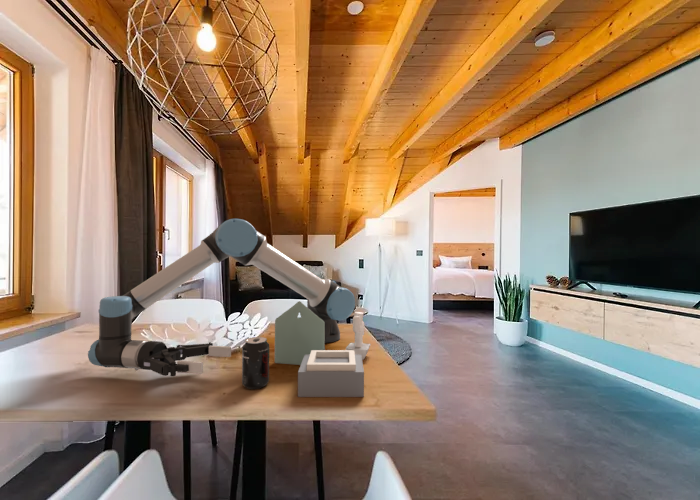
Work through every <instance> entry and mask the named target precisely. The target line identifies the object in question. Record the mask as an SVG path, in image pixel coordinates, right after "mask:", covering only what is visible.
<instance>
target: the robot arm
mask: <svg viewBox="0 0 700 500" xmlns="http://www.w3.org/2000/svg"><path fill="white" fill-rule="evenodd" d="M230 257H231V258H232V259H234V260H236V262H239V263H240V264H242V265H243V266H251V265H252V266H253V267H256V268H257V269H259V270H260V271H262V272H264V273H266V274H267V275H268V276H270V277H272V278H273V279H275V280H276V281H279V282H280V283H281V284H283V285H284V286H286V287H288V288H289V289H291V290H293V291H294V292H296V293H297V294H299V295H301V296H302V297H304V298H306V301H307V302H306V303H307V305H306V307H307V308H308V309H310V310H311V311H312V312H313V313H314V314H316V315H317V316H318V317H319V318H320V319H322V320H323V321H324V322H325V344H326V343H334V342H337V341H339V340H340V339H341V330H340V328H339V325H338V321H345V320H347V319H348V318H349V317H351V315H352V314H353V313H354V312H355V311H354V310H355V307H356V298H355V295H354V293H353V292H352V291H351V290H350V289H349V288H346V287H342V286H340V285H339V284H337V282H336V281H335V280H331V279H330V278H327V277H326V278H321V277H319V276H318V275H316V274H315V273H313V272H312V271H311V270H308V269H307V268H306V267H304V266H302V265H301V264H299V263H298V262H296V261H295V260H294V259H291V257H288V256H287V255H286V254H284V253H283V252H282V251H280V250H278V249H277V248H275V247H274V246H272V245H271V244H270V243H268V242H267V237H266V235H264V234H262V233H261V232H259V231H258V230H256V228H255V227H254V226H253V225H252V223H250V222H249V221H247V220H245V219H243V218H242V219H241V218H230V219H227V220H225V221H223V222H222V223H220V225H218V226H217V227H216V228H215V229H214V230H213V231H212V232H211V233H210V234H209V235H207V236H206V237H205V238H203V239H202V240H201V241H200V245H198V246H197V247H195V248H194V249H192V250H190V251H189V252H187V253H186V254H184V255H182V256H180V258H178V259H176V260H175V261H174V262H172V263H171V264H169V265H167V266H166V267H165V268H163V269H161V270H160V271H158V272H156V273H155V274H153V275H152V276H151V277H149V278H148V279H146V280H144V281H143V282H141V283H140V284H138V285H137V286H135V287H134V288H132V289H131V290H130V291H128V292H126V293H124V294H123V295H118V296H117V295H115V296H108V297H107V296H106V297H102V298H101V299H100V301H99V309H98V322H99V324H98V326H99V327H98V331H99V332H98V333H99V335H98V338H97V339H96V340H95V341H93V342H92V344H91V345H90V348H89V350H88V351H87V357H88V360H89V362H90V364H92V365H94V366H98V367H103V368H117V369H118V368H119V369H134V371H138V370H147V371H148V370H149V371H152V372H154V373H156V374H159V375H161V376H165V377H166V376H168V375H169V374H170V377H175V376H176V375H177V373H183V374H197V375H202V374H203V373H204V361H194V360H193V361H192V360H191V361H190V360H186V359H187V358H192V357H199V356H206V355H208V357H209V356H210V357H224V358H225V357H226V358H231V357H232V346H225V345H224V346H221V345H213V344H214V343H213V342H208V343H197V344H196V343H195V344H177V345H176V346H175V347H174V346H170V347H167V345H166V343H164V342H163V341H158V340H157V341H156V340H155V341H154V340H139V339H132V325H133V324H132V320H133V319H134V318H135V317H137V316H138V315H139V314H141V313H143V312H144V311H145V310H146V309H148V308H149V307H151V306H152V305H154V304H155V303H157V302H159V301H160V300H162V299H163V298H164V297H166V296H167V295H169V294H170V293H172V292H173V291H174V290H176V289H178V288H180V286H182V285H183V284H185V283H187V282H188V281H189V280H191V279H192V278H194V277H196V276H197V275H198V274H200V273H201V272H203V271H204V270H206V269H207V268H208V267H210V266H211V265H213V264H217V263H218V264H219V263H221V262H222V261H224V260H226V259H228V258H230Z"/></svg>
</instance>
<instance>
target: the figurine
mask: <svg viewBox="0 0 700 500" xmlns="http://www.w3.org/2000/svg"><path fill="white" fill-rule="evenodd" d="M353 313H354V316H353V317H352V331H353V333H354V342H349V343H348V345H347V346H346V347H345V350H354V352H355V355H361V357H362V360H365V358H366V357H367V355H368V352H369V349H370V347H371V343H364V342H363V338H364V337H363V336H364V335H365V322H364V321H363V320H364V319H363V318H364V312H362V311H354V312H353Z"/></svg>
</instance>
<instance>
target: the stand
mask: <svg viewBox="0 0 700 500" xmlns="http://www.w3.org/2000/svg"><path fill="white" fill-rule="evenodd" d="M363 363H364V362H363V359H362V357H361V355H355V352H354V350H346V349H341V350H340V349H339V350H338V349H337V350H336V349H335V350H334V349H332V350H331V349H327V350H326V349H325V350H311V353H310V354H305V355H304V358H303V360H302V363H301V365H299V366H300V367H299V368H298V371H297V398H361V397H362V398H364V397H365V370H364V364H363Z"/></svg>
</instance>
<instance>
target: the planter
mask: <svg viewBox="0 0 700 500" xmlns="http://www.w3.org/2000/svg"><path fill="white" fill-rule="evenodd" d="M299 315H300V316H299ZM325 345H326V343H325V322H324V321H323V320H322V319H320V318H319V317H318V316H317V315H316V314H314V313H313V312H312V311H311V310H310V309H308V308H307V305H305V304H304V303H303V302H302V301H297V302H296V303H295V304H294V305H292V306H291V307H290V308H288V309H287V310H285V312H283V313H281V315H279V316H278V317H276V318H275V320H274V363H275V364H282V365H283V364H285V365H295V366H296V365H298V366H301V363H302V360H303V358H304V355H305V354H310V353H311V350H326V347H325Z"/></svg>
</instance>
